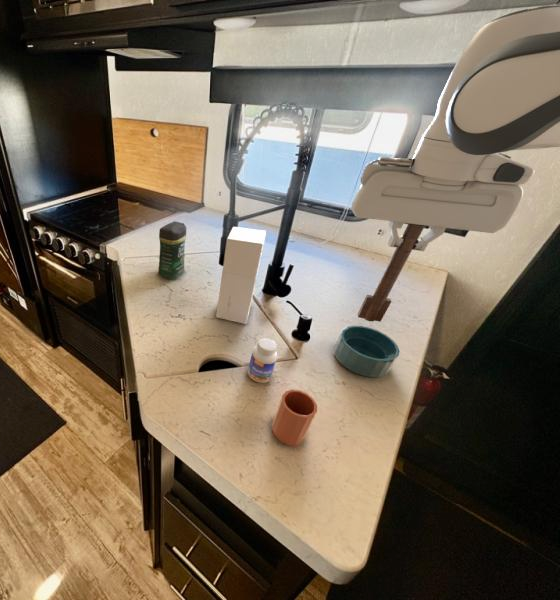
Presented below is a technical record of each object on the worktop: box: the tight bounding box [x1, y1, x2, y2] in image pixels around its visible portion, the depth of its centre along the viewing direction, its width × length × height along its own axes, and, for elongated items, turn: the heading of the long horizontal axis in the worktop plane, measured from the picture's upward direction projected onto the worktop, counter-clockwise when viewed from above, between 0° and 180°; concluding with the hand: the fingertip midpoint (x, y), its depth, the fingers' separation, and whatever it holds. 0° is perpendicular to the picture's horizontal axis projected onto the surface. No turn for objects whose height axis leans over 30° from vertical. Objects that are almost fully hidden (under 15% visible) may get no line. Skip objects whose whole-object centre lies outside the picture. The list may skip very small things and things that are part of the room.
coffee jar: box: [158, 220, 187, 280], centre depth 107 cm, size 10×8×19 cm
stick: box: [357, 223, 426, 323], centre depth 57 cm, size 4×2×20 cm, turn 70°
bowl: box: [333, 325, 400, 378], centre depth 76 cm, size 12×12×6 cm
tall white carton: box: [216, 226, 267, 325], centre depth 86 cm, size 9×9×25 cm
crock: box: [271, 389, 318, 447], centre depth 59 cm, size 6×6×9 cm
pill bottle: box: [247, 337, 278, 384], centre depth 71 cm, size 5×5×10 cm
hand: (405, 247), depth 53 cm, fingers closed on stick, 2 cm apart
